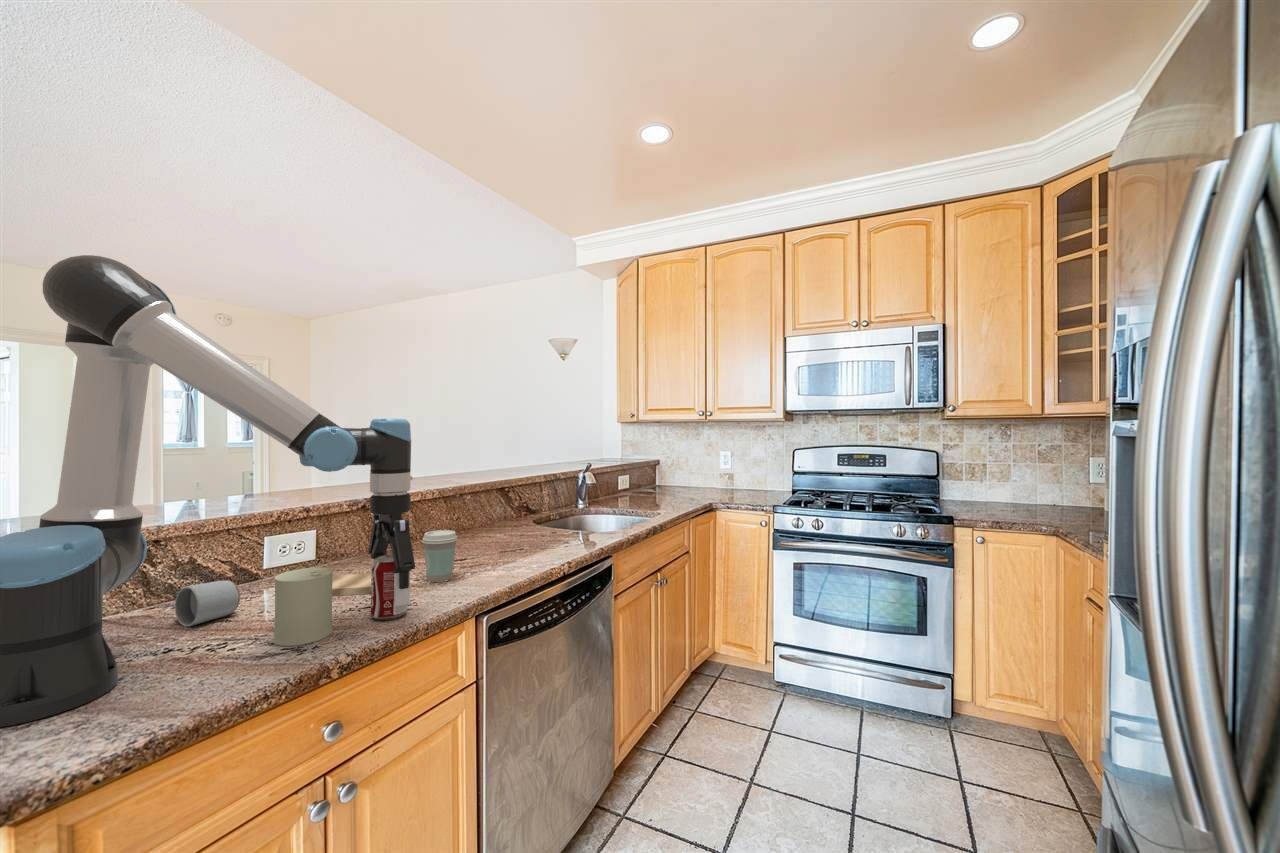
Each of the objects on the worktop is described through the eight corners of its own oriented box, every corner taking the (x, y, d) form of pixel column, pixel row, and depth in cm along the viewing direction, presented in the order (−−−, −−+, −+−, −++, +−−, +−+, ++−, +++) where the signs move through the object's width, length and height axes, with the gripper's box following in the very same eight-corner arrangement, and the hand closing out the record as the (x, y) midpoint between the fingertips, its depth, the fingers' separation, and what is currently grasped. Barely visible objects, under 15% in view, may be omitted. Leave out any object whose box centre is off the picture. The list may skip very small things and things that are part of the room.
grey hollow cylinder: (243, 615, 105) (243, 577, 105) (197, 629, 98) (197, 588, 98) (209, 609, 109) (210, 573, 109) (163, 623, 101) (163, 584, 101)
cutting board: (304, 597, 117) (305, 590, 117) (326, 582, 128) (326, 575, 128) (380, 593, 120) (380, 586, 120) (394, 578, 132) (394, 572, 132)
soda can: (414, 614, 106) (414, 556, 106) (382, 624, 100) (383, 563, 101) (395, 608, 110) (395, 552, 110) (363, 617, 104) (364, 558, 104)
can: (303, 648, 89) (304, 579, 89) (259, 643, 91) (260, 576, 91) (344, 628, 98) (345, 566, 98) (303, 625, 100) (304, 563, 100)
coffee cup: (433, 574, 136) (433, 529, 136) (463, 575, 135) (463, 530, 135) (414, 583, 128) (415, 535, 128) (446, 585, 127) (447, 536, 127)
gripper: (433, 497, 99) (432, 606, 99) (389, 487, 117) (388, 580, 117) (392, 500, 94) (391, 616, 94) (352, 489, 112) (352, 586, 112)
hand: (390, 596), depth 105 cm, fingers open, 13 cm apart
